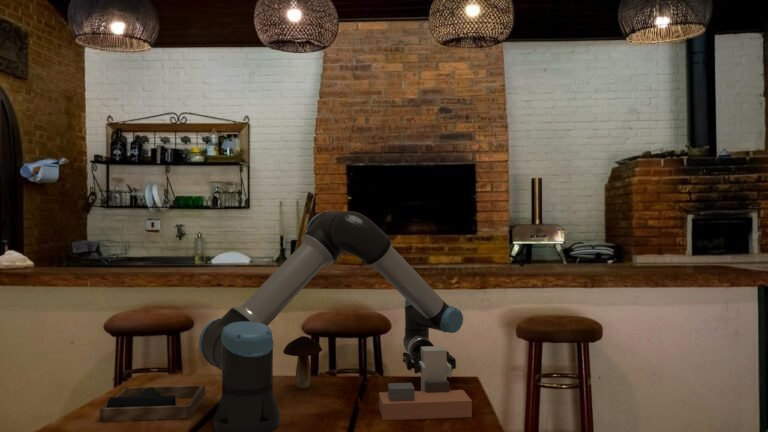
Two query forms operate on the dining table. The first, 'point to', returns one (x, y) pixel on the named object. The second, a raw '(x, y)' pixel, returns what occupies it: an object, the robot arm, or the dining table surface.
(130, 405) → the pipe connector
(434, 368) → the tall grey brick
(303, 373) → the decorative mushroom
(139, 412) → the frame
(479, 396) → the dining table surface
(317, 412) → the dining table surface
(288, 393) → the dining table surface
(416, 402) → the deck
